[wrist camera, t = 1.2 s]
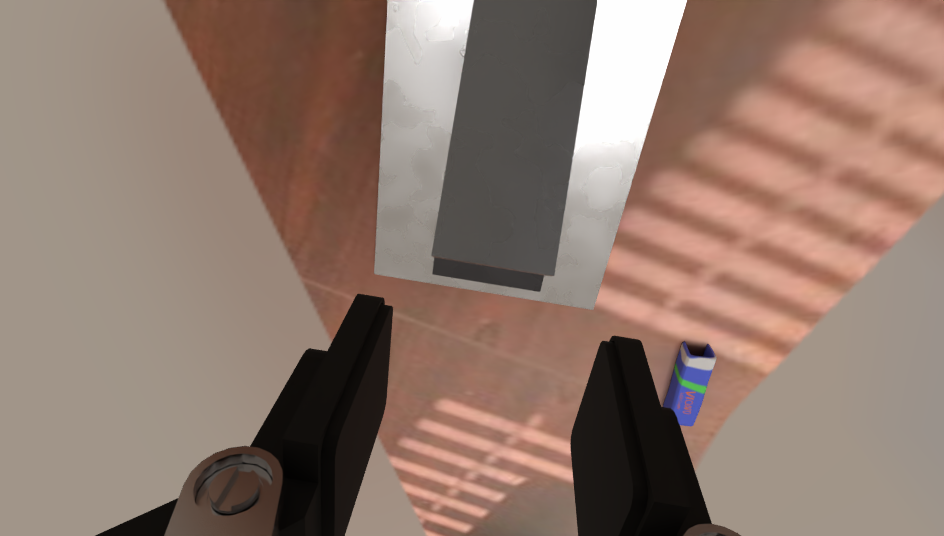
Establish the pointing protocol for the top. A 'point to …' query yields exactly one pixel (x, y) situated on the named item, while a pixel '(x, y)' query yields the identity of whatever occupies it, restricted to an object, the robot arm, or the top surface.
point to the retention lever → (514, 133)
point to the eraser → (689, 384)
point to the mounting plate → (594, 161)
